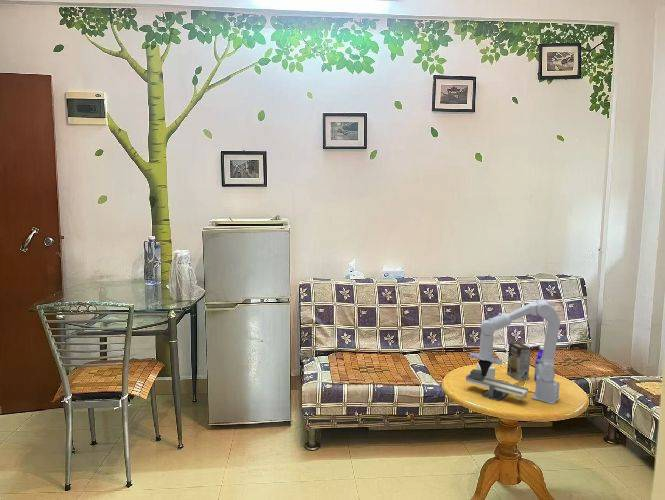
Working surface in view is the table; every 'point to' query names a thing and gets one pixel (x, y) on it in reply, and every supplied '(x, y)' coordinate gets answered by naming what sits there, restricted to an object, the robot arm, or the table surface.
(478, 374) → the block
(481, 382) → the beam
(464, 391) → the table surface
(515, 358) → the coffee box
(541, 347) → the bottle
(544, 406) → the table surface
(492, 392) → the pivot stand
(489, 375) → the medicine bottle
